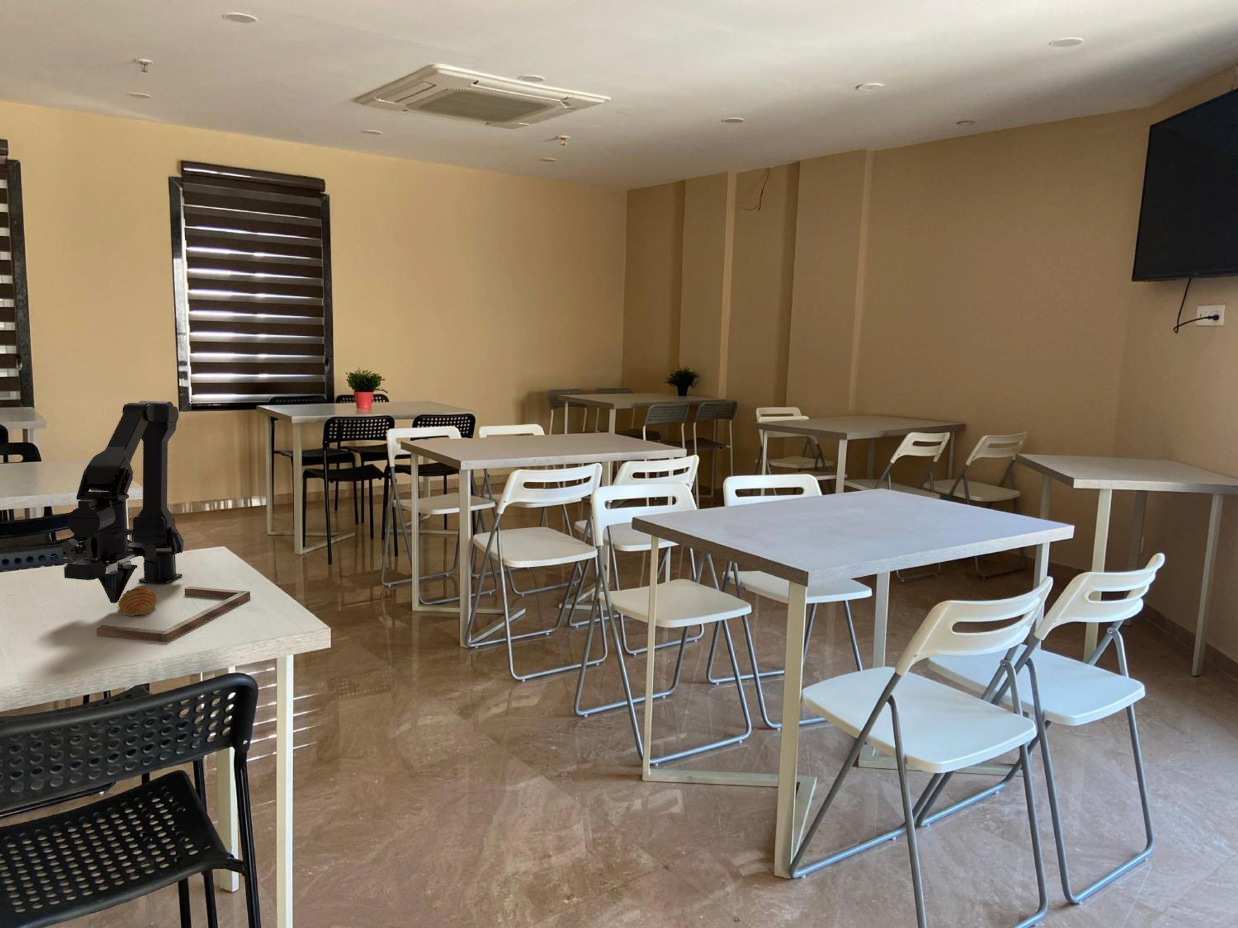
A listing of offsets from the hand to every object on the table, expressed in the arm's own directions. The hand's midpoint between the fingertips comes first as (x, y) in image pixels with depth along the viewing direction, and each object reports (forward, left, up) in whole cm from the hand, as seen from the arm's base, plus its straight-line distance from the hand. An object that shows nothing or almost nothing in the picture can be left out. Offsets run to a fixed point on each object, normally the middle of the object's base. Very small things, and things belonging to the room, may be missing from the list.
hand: (114, 602), depth 177 cm
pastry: (-2, +4, -2) cm, 5 cm away
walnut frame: (0, +13, -2) cm, 13 cm away
